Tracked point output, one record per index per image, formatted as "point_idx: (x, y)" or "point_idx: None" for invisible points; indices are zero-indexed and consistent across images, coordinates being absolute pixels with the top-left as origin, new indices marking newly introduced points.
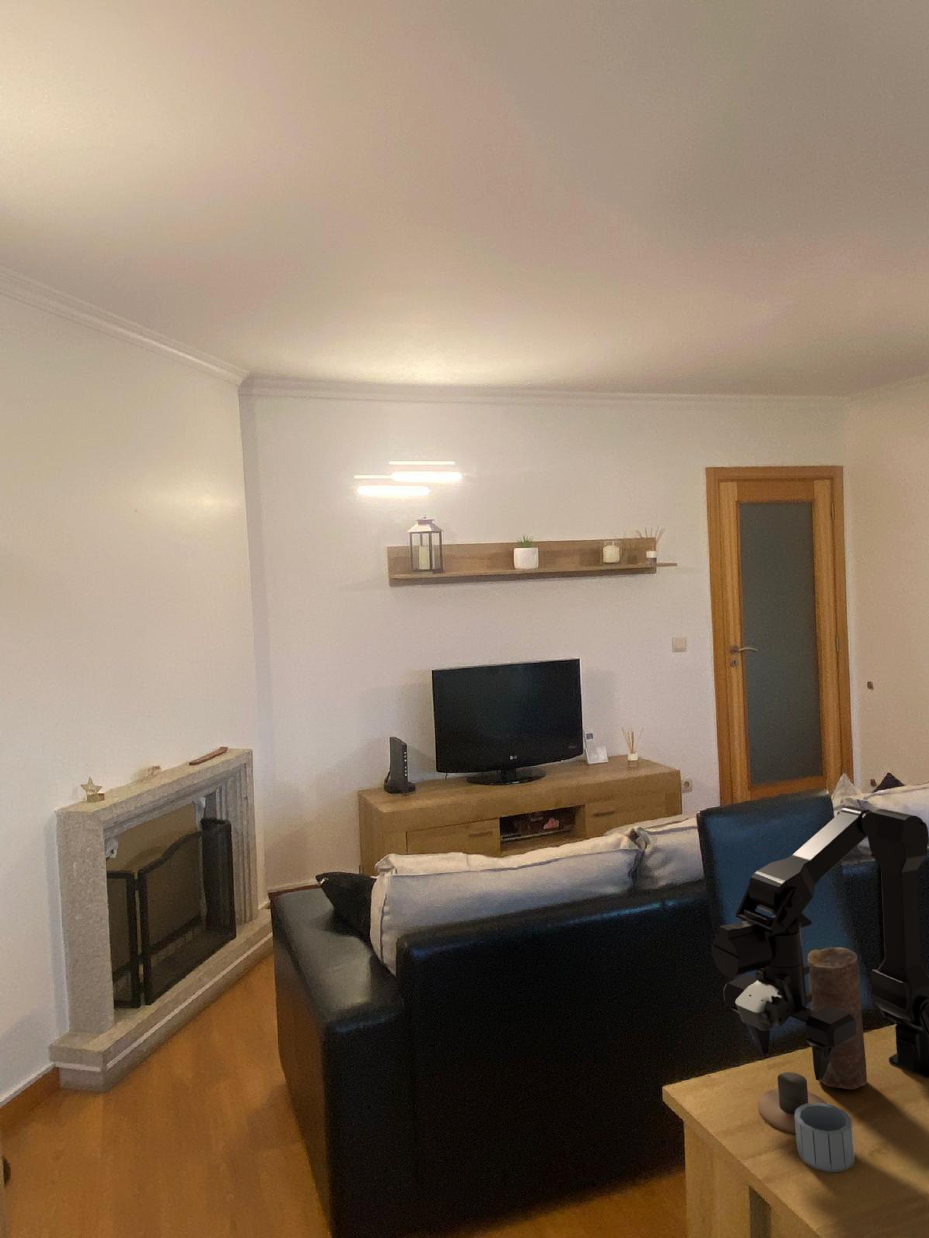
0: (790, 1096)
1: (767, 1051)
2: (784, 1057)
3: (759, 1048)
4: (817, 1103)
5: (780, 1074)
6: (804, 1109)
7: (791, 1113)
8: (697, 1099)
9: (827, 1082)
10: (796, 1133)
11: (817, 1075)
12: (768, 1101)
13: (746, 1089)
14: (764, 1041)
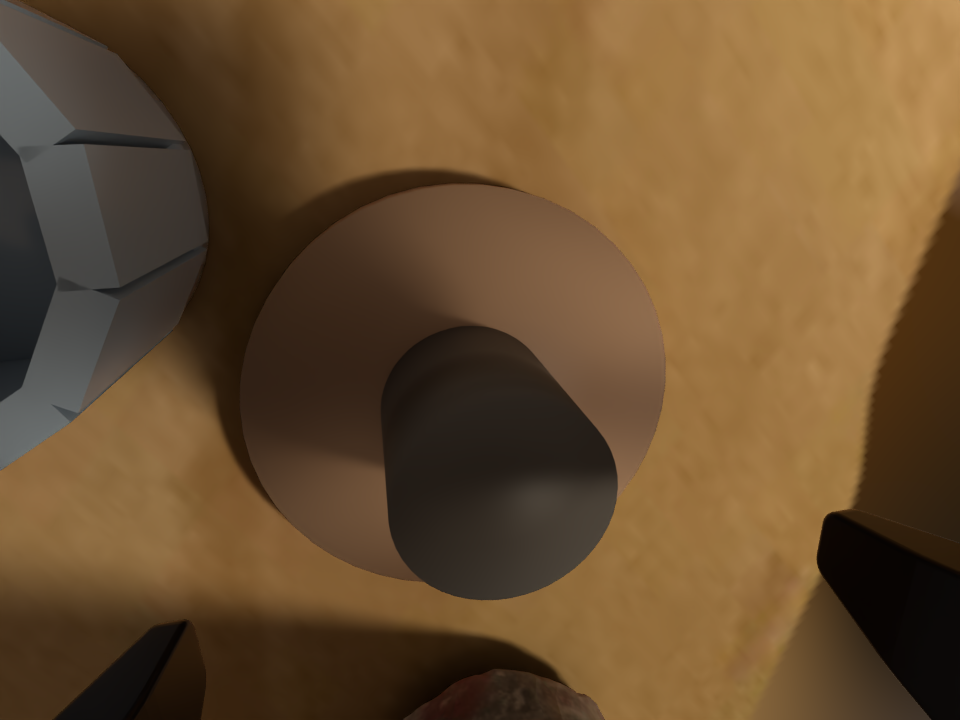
0: (437, 383)
1: (828, 570)
2: (769, 667)
3: (911, 529)
4: (59, 402)
5: (613, 484)
6: (47, 221)
7: (425, 340)
8: (918, 25)
9: (479, 687)
10: (19, 5)
11: (116, 667)
12: (598, 328)
13: (761, 345)
14: (939, 632)
